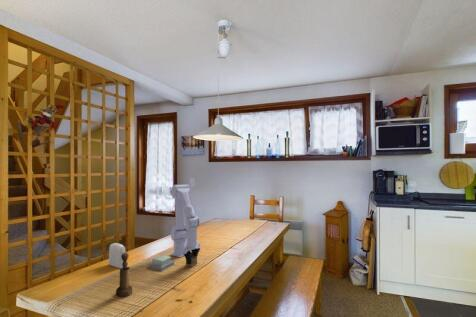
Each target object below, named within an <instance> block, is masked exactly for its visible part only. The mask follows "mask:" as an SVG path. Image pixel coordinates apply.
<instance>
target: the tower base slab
mask: <svg viewBox="0 0 476 317" xmlns="http://www.w3.org/2000/svg"><path fill="white" fill-rule="evenodd" d="M174 265H175V261H174V260H171V262H169V263H167V264H165V265H163V266H162V265H158V264H154V263H153V261H151V262H150V263H148V264H147V268H148V269H152V270H157V271H159V272H160V271H161V272H163V271H166V270H167V269H168V268H169V269H170V267H173V266H174Z"/></svg>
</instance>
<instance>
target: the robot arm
mask: <svg viewBox="0 0 476 317" xmlns="http://www.w3.org/2000/svg"><path fill="white" fill-rule="evenodd" d="M190 191H191V188H190V185H189V184H173V185H172V187H171V198H172V199H174V210H175V211H174V212H175V213H174V214H175V225H174V226H173V227H172V228H171V233H170V238H171V240H172V241H173V253H171V254H170V256H171V257H172V256H173V257H177V258H182V257H184V258H185V263H186V262H187V264H189V265H190V264H191V258H192V256H197V257H198V256H199V255H198V254H199V252H200V250H201V248H200V247H201V242H198V227H199V226H200V220H199V216H198V215H197V214H196V213H195V210H194V207H193V206H192V205H191V201H190V197H189V196H190V195H189V194H190ZM184 217H185V220H184ZM184 221H185V224H184Z"/></svg>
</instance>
